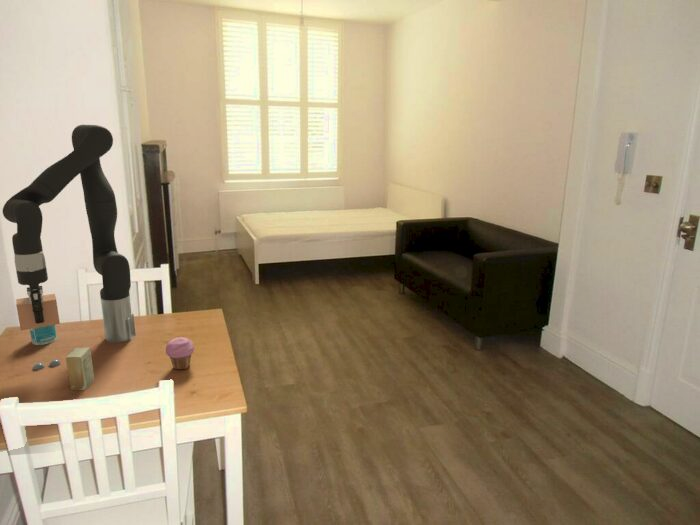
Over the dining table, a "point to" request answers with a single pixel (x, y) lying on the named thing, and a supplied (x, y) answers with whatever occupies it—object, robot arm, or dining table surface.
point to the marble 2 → (54, 363)
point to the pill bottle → (43, 335)
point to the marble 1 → (38, 366)
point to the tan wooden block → (27, 314)
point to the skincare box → (80, 368)
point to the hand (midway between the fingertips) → (39, 318)
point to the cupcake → (180, 352)
